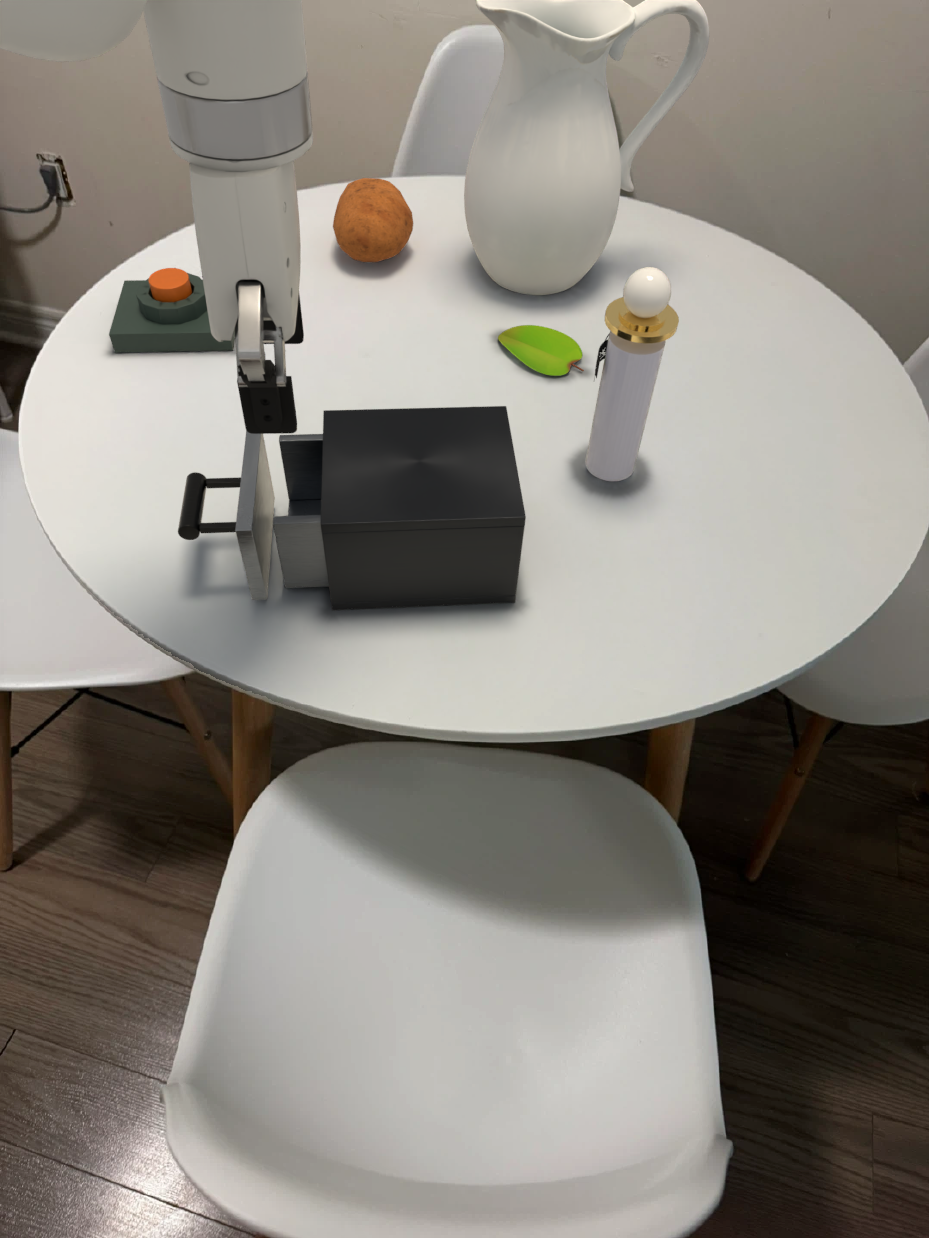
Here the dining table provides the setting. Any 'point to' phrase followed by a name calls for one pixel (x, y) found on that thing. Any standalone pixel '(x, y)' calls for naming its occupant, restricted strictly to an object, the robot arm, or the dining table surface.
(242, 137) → the robot arm
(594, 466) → the perfume bottle
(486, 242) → the pitcher
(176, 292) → the button
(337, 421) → the cabinet
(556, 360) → the decorative leaf
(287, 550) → the drawer
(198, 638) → the dining table surface
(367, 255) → the potato
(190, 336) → the control block
